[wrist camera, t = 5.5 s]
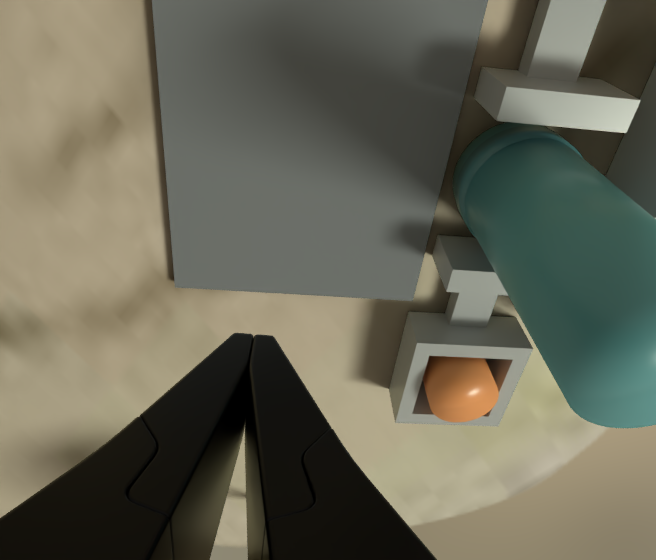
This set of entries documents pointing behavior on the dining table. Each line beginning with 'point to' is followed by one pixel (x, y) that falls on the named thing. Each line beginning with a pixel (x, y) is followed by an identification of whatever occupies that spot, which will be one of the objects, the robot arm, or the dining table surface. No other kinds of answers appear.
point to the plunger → (459, 388)
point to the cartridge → (568, 266)
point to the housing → (465, 252)
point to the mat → (308, 138)
